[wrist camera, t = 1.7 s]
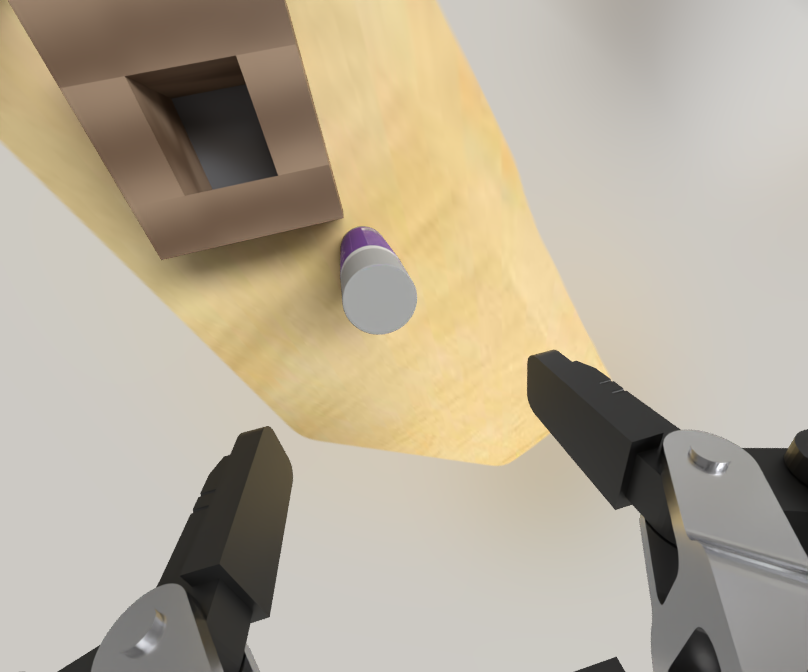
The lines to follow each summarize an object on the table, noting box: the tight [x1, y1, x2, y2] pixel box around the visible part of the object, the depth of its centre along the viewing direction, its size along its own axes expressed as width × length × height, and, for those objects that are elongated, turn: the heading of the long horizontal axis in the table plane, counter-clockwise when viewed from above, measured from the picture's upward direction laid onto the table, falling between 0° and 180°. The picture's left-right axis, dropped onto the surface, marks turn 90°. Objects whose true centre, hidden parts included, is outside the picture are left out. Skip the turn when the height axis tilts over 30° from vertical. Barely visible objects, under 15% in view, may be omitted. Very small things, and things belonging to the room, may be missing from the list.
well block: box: [8, 0, 343, 260], centre depth 22 cm, size 14×14×6 cm
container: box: [340, 226, 417, 334], centre depth 24 cm, size 5×5×15 cm
